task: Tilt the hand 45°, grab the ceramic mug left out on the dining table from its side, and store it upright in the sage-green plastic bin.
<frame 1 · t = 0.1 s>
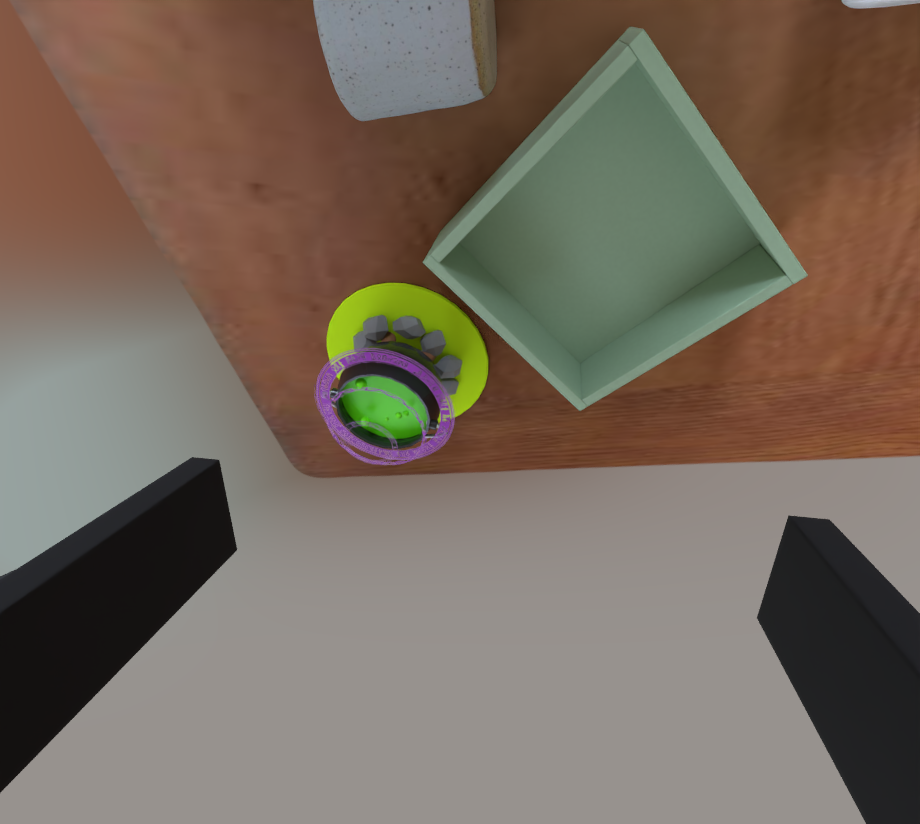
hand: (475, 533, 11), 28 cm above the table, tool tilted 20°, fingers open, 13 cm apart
toy cauldron: (407, 359, 43), on the table
bin: (598, 235, 33), on the table
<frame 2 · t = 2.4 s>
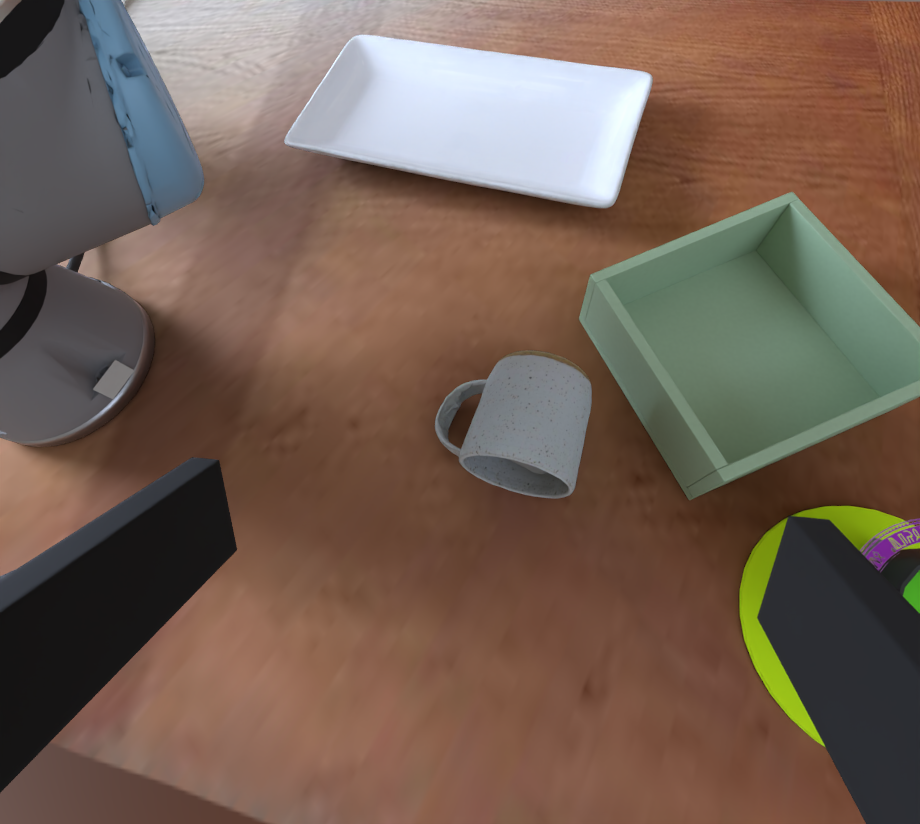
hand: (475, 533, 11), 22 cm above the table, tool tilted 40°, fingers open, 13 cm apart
tray: (468, 141, 47), on the table
toy cauldron: (868, 628, 29), on the table
bin: (724, 361, 36), on the table
ceramic mug: (508, 440, 35), on the table
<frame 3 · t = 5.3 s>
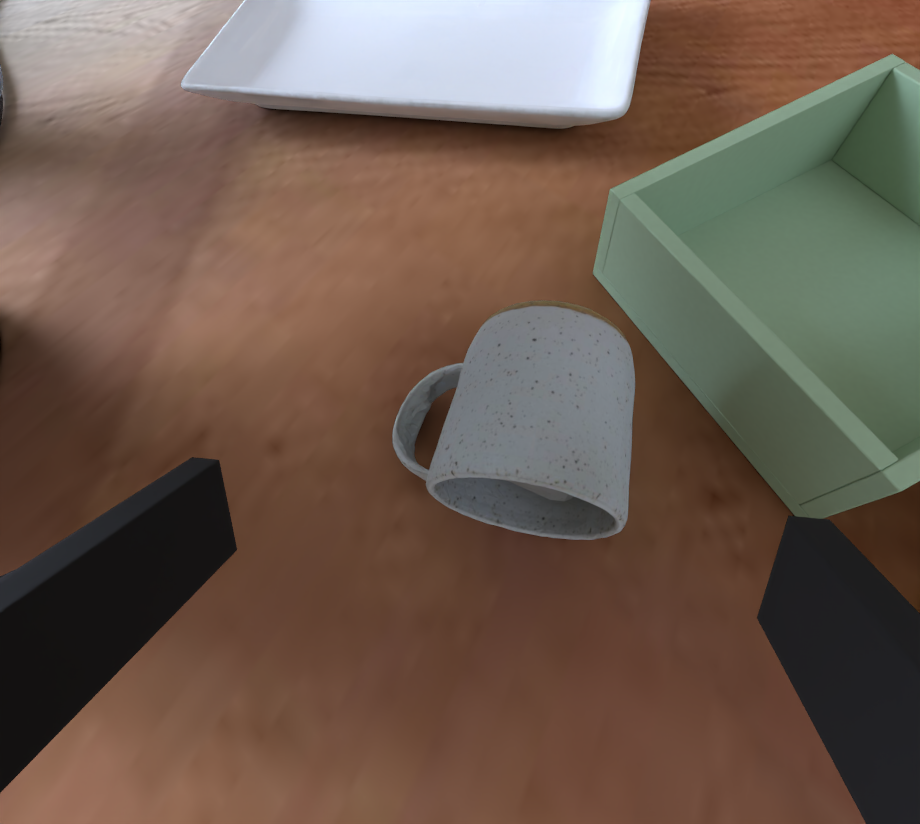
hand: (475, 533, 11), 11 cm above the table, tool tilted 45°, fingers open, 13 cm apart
tray: (424, 75, 37), on the table
bin: (814, 312, 24), on the table
ceramic mug: (506, 453, 23), on the table
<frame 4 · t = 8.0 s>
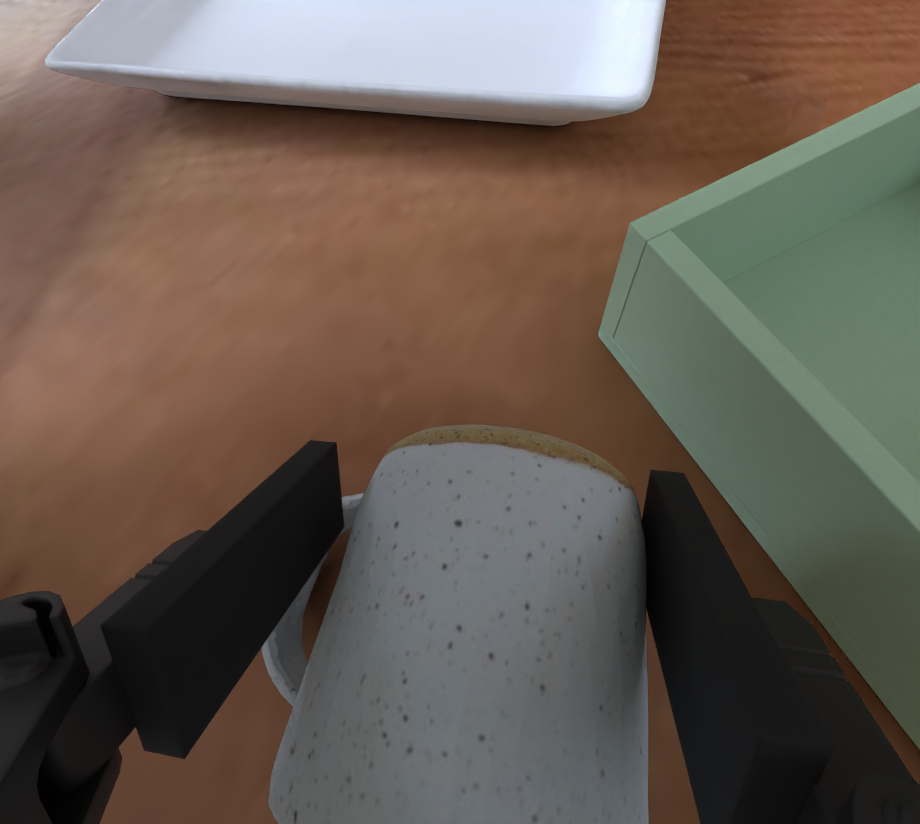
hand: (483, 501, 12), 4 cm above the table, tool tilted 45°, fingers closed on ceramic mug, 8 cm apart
tray: (376, 55, 28), on the table
ceramic mug: (446, 625, 15), on the table, touching gripper
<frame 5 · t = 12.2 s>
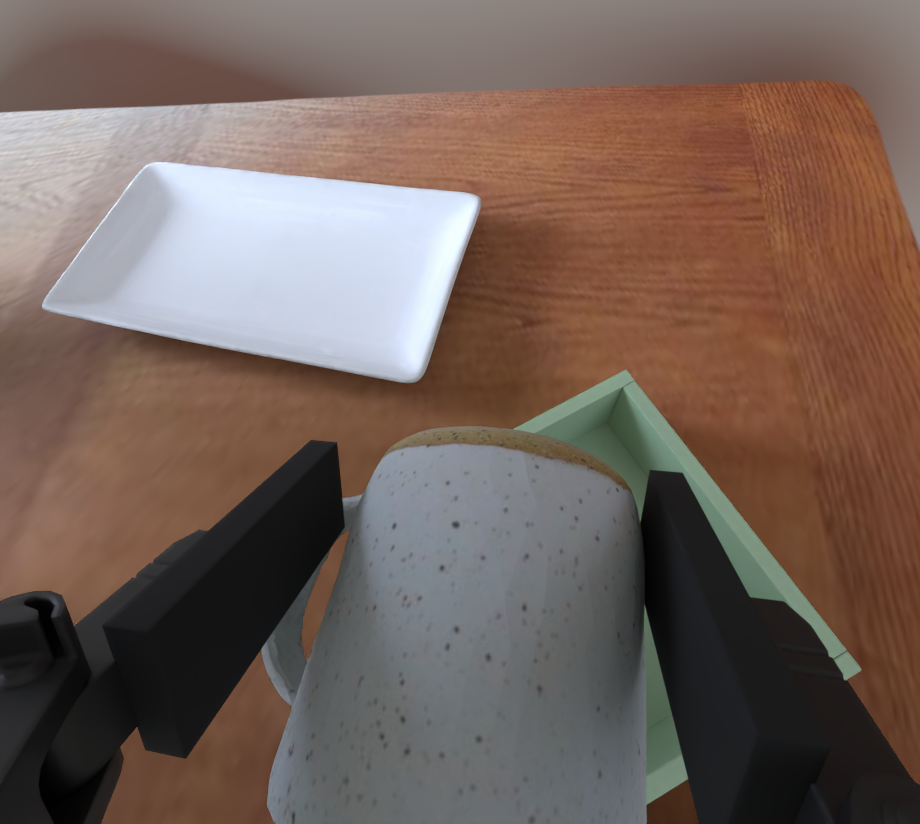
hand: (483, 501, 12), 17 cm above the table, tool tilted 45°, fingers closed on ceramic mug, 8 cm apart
tray: (279, 281, 39), on the table
bin: (569, 588, 27), on the table
ceramic mug: (446, 626, 15), point 13 cm above the table, touching gripper
when the fingers open (5 cm above the table, at t = 16.5 s): ceramic mug stays where it is, resting on bin.
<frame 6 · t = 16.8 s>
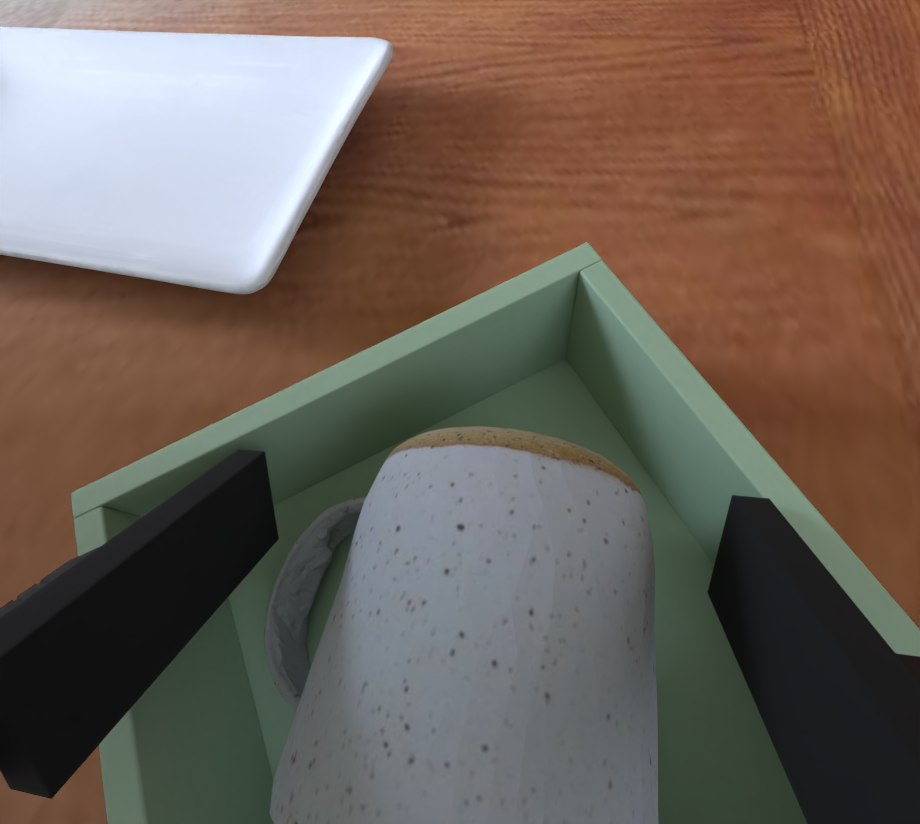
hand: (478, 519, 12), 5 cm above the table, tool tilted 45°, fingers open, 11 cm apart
tray: (119, 179, 28), on the table
bin: (487, 637, 15), on the table
ceramic mug: (452, 630, 15), point 1 cm above the table, touching bin
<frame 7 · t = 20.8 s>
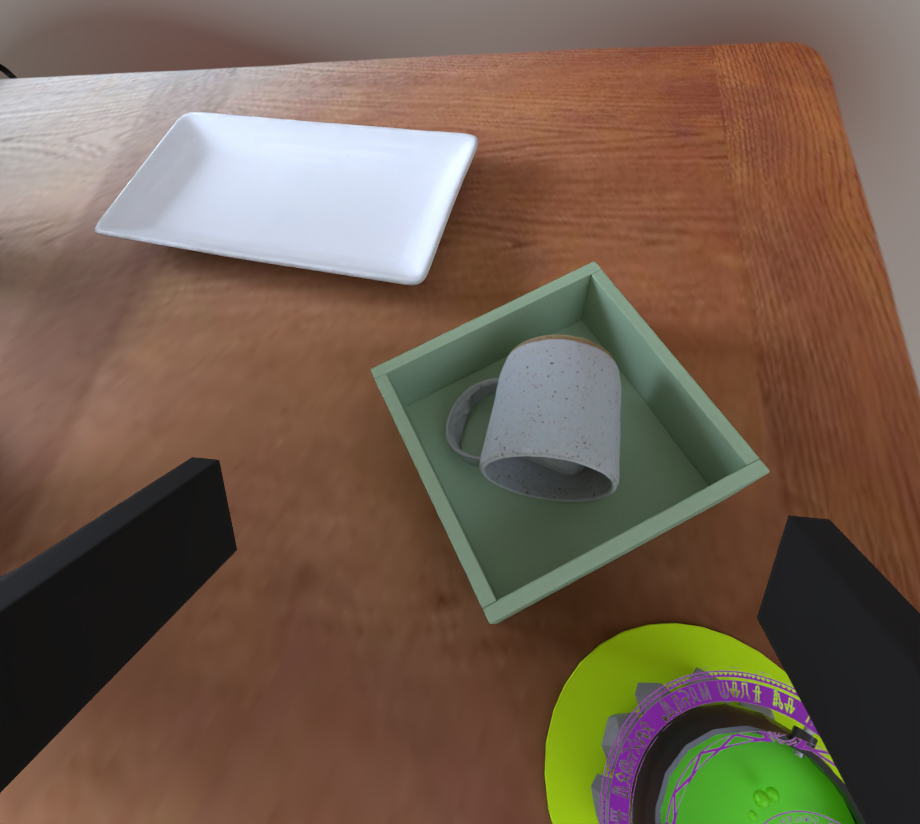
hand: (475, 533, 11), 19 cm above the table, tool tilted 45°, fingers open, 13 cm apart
tray: (300, 214, 44), on the table
toy cauldron: (694, 784, 24), on the table
bin: (545, 449, 32), on the table
ceramic mug: (529, 443, 31), point 1 cm above the table, touching bin
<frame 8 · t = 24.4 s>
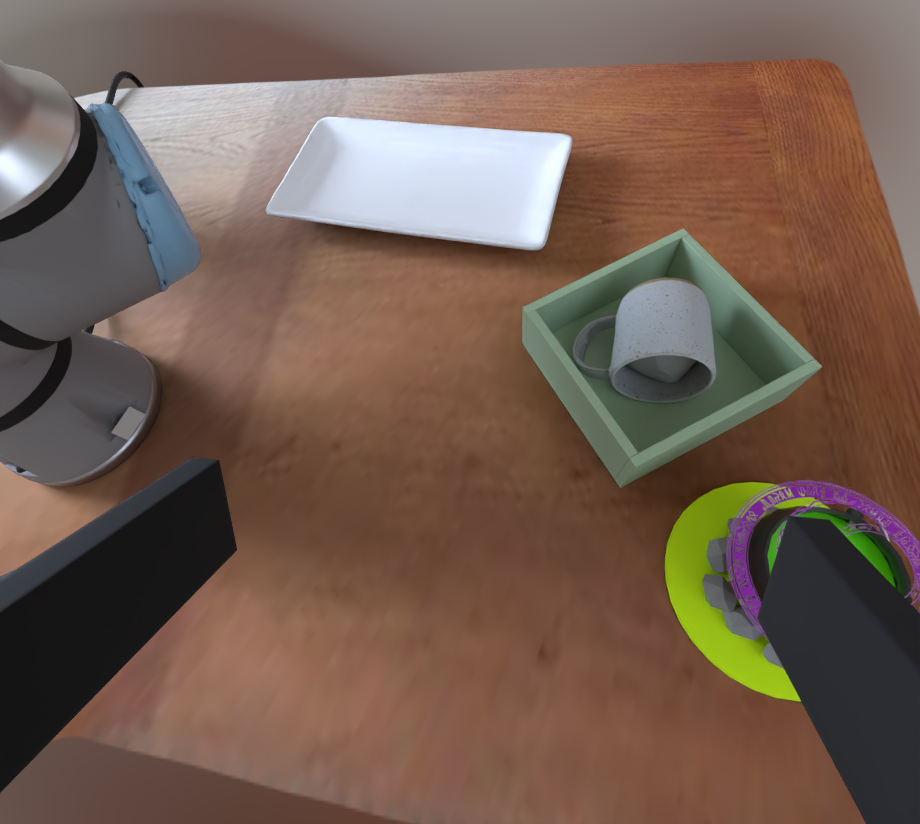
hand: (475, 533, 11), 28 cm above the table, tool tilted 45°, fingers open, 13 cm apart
tray: (423, 199, 55), on the table
toy cauldron: (771, 582, 35), on the table
bin: (644, 370, 43), on the table
ceramic mug: (633, 365, 42), point 1 cm above the table, touching bin
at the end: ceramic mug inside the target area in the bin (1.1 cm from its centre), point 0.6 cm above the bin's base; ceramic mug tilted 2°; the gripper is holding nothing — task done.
